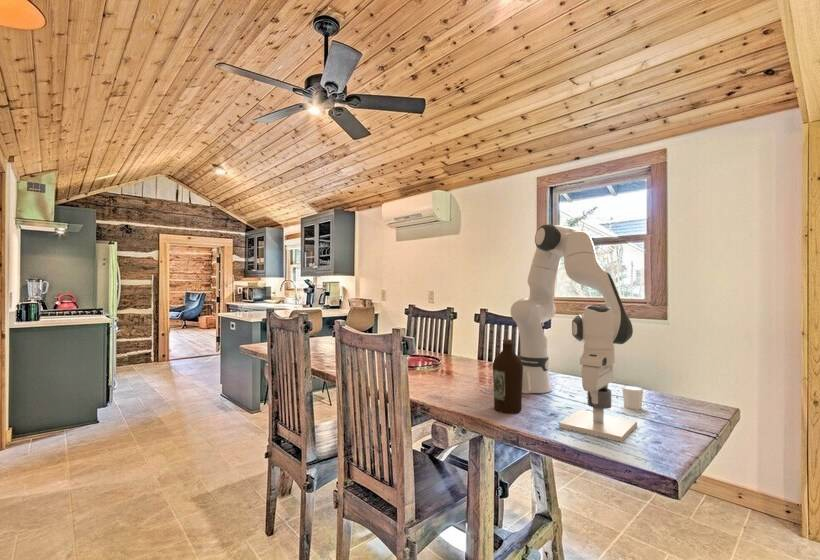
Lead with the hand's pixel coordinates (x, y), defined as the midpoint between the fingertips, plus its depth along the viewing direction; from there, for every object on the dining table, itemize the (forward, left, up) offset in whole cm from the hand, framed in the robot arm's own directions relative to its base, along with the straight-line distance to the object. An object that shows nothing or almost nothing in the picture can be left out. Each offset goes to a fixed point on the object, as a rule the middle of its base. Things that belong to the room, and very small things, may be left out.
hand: (599, 400), depth 129 cm
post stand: (0, 0, -8) cm, 8 cm away
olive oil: (-30, -3, -8) cm, 32 cm away
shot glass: (+3, +30, -9) cm, 31 cm away
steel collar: (0, 0, -2) cm, 2 cm away
